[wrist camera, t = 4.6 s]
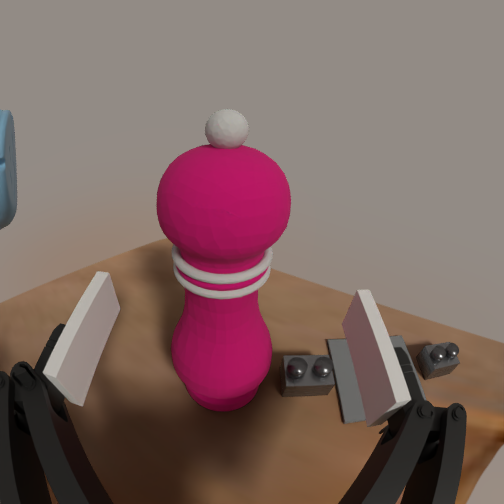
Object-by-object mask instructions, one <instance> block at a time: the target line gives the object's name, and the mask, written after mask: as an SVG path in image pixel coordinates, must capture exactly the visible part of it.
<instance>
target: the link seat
mask: <svg viewBox="0 0 504 504" xmlns="http://www.w3.org/2000/svg"><path fill="white" fill-rule="evenodd" d="M389 338H390V340H391V343H392V345H393V347H402V349H403V350H404V351H405V352H406V354H407V355H408V358H409V360H410V363H411V364H410V365H412V368H413V372H414V373H415V376H416V379H417V382H418V385H419V387H420V390H421V393H422V396H423V398H424V400H426V397H425V394H424V391H423V389H422V386H421V383H420V380H419V378H418V375H417V372H416V370H415V367H414V364H413V362H412V359H411V357H410V354H409V352H408V349H407V347H406V345H405V342H404V340H403V338H402V336H390V337H389ZM327 343H328V347H329V352H330V356H331V360H332V361H333V364H334V368H333V370H334V375H335V380H336V385H337V390H338V395H339V400H340V405H341V411H342V416H343V422H344V424H345V423H352V422H359V421H365V420H366V417H365V413H364V408H363V404H362V399H361V395H360V391H359V386H358V382H357V378H356V374H355V370H354V366H353V362H352V358H351V355H350V351H349V347H348V344H347V340H346V339H332V340H328V341H327ZM426 401H427V400H426Z"/></svg>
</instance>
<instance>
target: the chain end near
mask: <svg viewBox="0 0 504 504" xmlns="http://www.w3.org/2000/svg"><path fill="white" fill-rule="evenodd" d="M333 368H334V364H333V361H332V360H331V359H330V358H329V355H302V356H283V359H282V362H281V365H280V377H281V391H282V397H295V396H316V395H328V393H329V392H330V391H331V389H332V388H333V386H334V385H335V382H334V377H333V372H332V370H333Z"/></svg>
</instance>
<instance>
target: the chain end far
mask: <svg viewBox="0 0 504 504" xmlns="http://www.w3.org/2000/svg"><path fill="white" fill-rule="evenodd" d="M458 353H459V348H458V346H457V345H456V344H454V343H450V342H446V343H441V344H435V345H428V346H425V347H424V348H423V349H422V351H421V352H420V353H419V354H418V356H417V357H416V358H417V361H418V363H419V366H420V368H421V371H422V374H423V376H424V379H425V380H427V379H431V378H435V377H439V376H443V375H446V374H450V373H451V372H452V371H453V370H454V369H455V368H456V367H457V366H458V364H459V363H460V362H459V360H458V358H457V354H458Z"/></svg>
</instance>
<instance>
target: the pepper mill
mask: <svg viewBox="0 0 504 504" xmlns="http://www.w3.org/2000/svg"><path fill="white" fill-rule="evenodd" d="M248 132H249V128H248V123H247V121H246V119H245V117H244V116H243V115H242V114H240V113H239V112H237V111H235V110H231V109H225V110H220V111H217V112H215V113H214V114H213V115H212V116H210V118H209V120H208V121H207V123H206V127H205V135H206V137H207V140H208V141H209V143H210V144H209V145H202V146H199V147H196V148H194V149H191V150H189V151H187V152H185V153H183V154H182V155H180V156H178V157H177V158H176V159H175V160H174V161H173V162H172V163H171V164H170V165H169V167H168V168H167V170H166V171H165V173H164V174H163V176H162V178H161V180H160V184H159V187H158V192H157V215H158V220H159V224H160V227H161V229H162V231H163V233H164V234H165V235H166V237H167V238H168V239H169V240H170V241H171V242H172V243H173V247H172V258H173V261H174V265H173V269H174V274H175V276H176V278H177V280H178V281H179V282H180V283H181V285H182V286H183V287H184V288H185V306H184V310H183V314H182V316H181V318H180V320H179V322H178V324H177V325H176V328H175V330H174V333H173V338H172V344H171V352H172V361H173V365H174V368H175V370H176V372H177V374H178V376H179V377H180V379H181V380H182V381H183V382H184V383H185V385H186V388H187V391H188V393H189V394H190V396H191V397H192V398H193V400H195V401H196V402H197V403H198V404H200V405H201V406H203V407H205V408H207V409H210V410H214V411H223V412H224V411H232V410H236V409H239V408H241V407H243V406H245V405H246V404H247V403H249V402H250V401H251V400H252V399H253V397H254V396H255V394H256V392H257V390H258V387H259V384H260V383H261V382H262V381H263V379H264V378H265V377H266V375H267V373H268V371H269V369H270V365H271V357H272V344H271V338H270V334H269V331H268V328H267V326H266V324H265V322H264V320H263V318H262V316H261V313H260V311H259V306H258V289H259V288H260V287H261V286H262V285H263V284H264V283H265V282H266V280H267V279H268V277H269V275H270V270H271V269H270V263H271V260H272V256H273V251H272V247H271V246H272V245H273V244H274V243H275V242H276V241H277V240H278V239H279V237H280V236H281V235H282V233H283V232H284V230H285V229H286V227H287V223H288V219H289V216H290V206H291V196H290V189H289V185H288V182H287V179H286V177H285V175H284V173H283V171H282V170H281V169H280V167H279V166H278V165H277V163H276V162H274V161H273V160H272V159H271V158H269V157H268V156H267V155H265V154H264V153H262V152H260V151H258V150H256V149H254V148H250V147H247V146H243V145H242V144H243V143H244V142H245V140H246V139H247V136H248Z"/></svg>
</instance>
